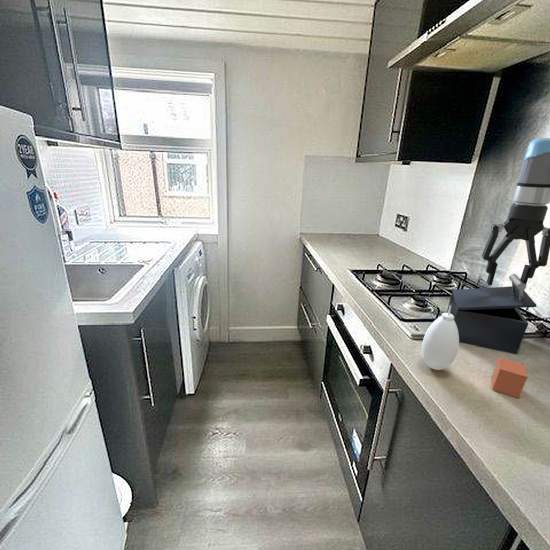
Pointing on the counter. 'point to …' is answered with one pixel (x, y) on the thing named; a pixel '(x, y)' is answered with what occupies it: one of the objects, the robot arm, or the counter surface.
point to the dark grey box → (490, 327)
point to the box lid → (494, 297)
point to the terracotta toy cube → (508, 377)
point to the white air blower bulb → (441, 342)
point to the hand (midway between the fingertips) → (504, 285)
